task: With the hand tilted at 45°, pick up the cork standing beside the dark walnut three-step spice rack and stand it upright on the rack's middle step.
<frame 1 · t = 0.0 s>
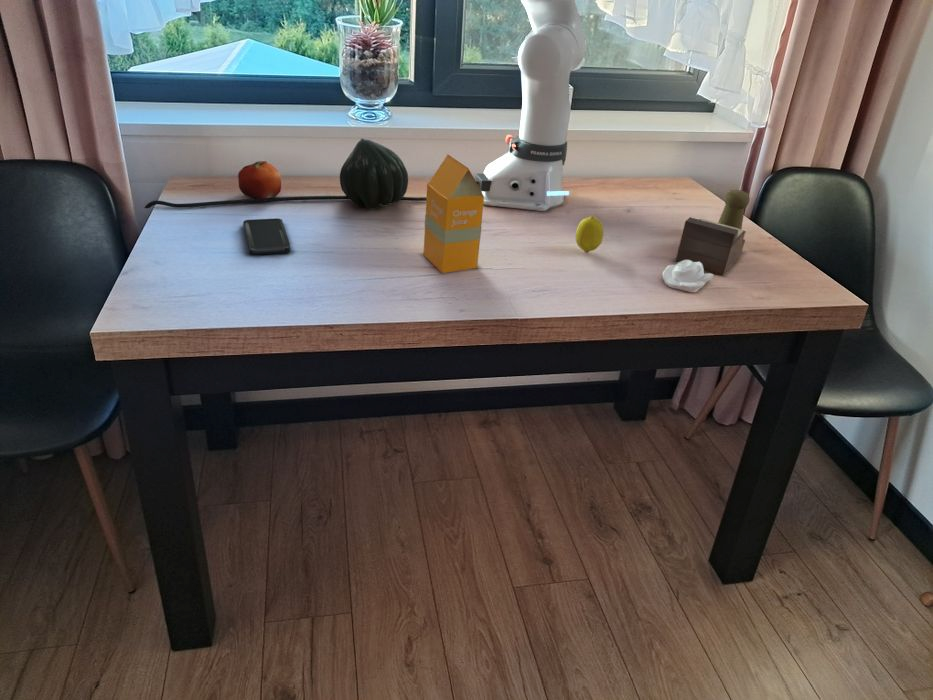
tomato: (261, 198, 166), on the table
orange juice: (450, 262, 145), on the table
spice rack: (709, 257, 157), on the table
phone: (266, 239, 147), on the table
cork: (725, 239, 167), on the table
rose: (686, 283, 145), on the table
squash: (373, 204, 169), on the table
lemon: (586, 253, 154), on the table
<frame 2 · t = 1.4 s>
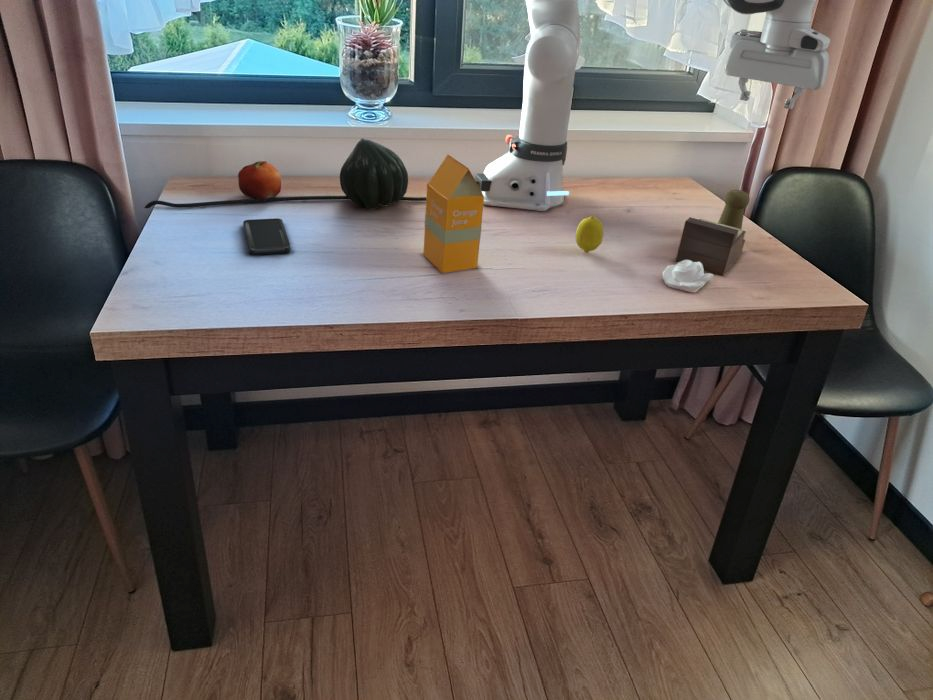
hand: (765, 104, 159), 28 cm above the table, tool pointing down, fingers open, 8 cm apart
nothing on the table moved.
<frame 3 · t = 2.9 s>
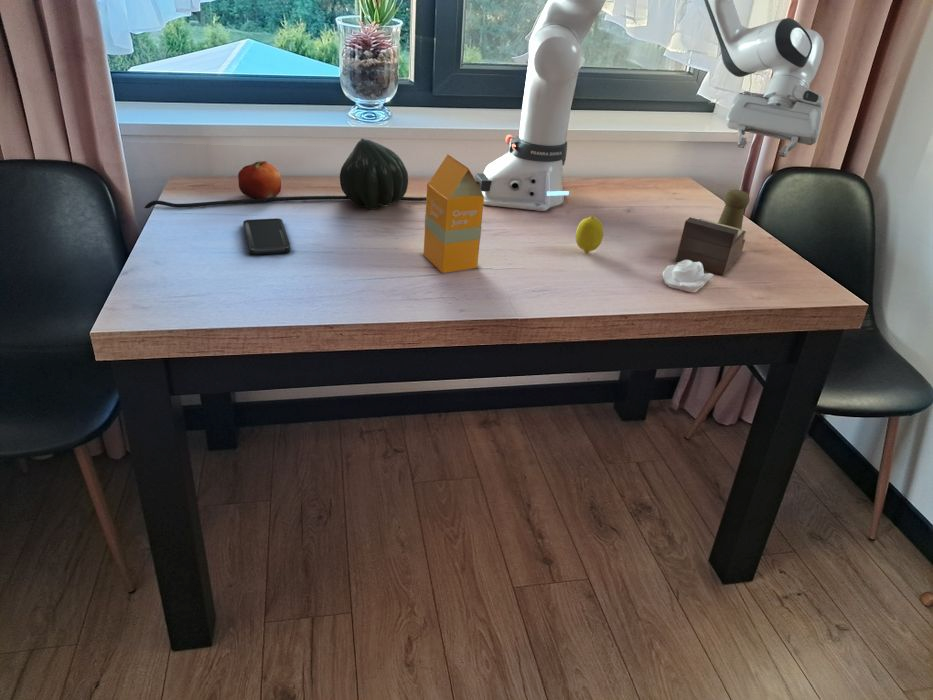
hand: (761, 150, 167), 17 cm above the table, tool tilted 45°, fingers open, 8 cm apart
nothing on the table moved.
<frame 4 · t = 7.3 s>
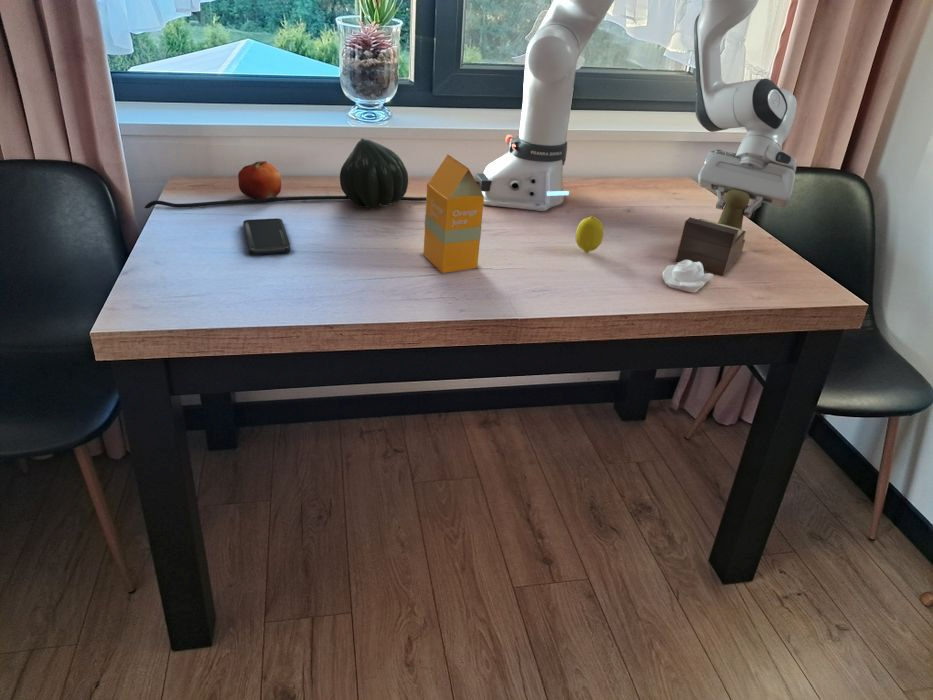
hand: (733, 211, 163), 7 cm above the table, tool tilted 45°, fingers closed on cork, 5 cm apart
cork: (725, 239, 167), on the table, touching gripper
everything else where it was.
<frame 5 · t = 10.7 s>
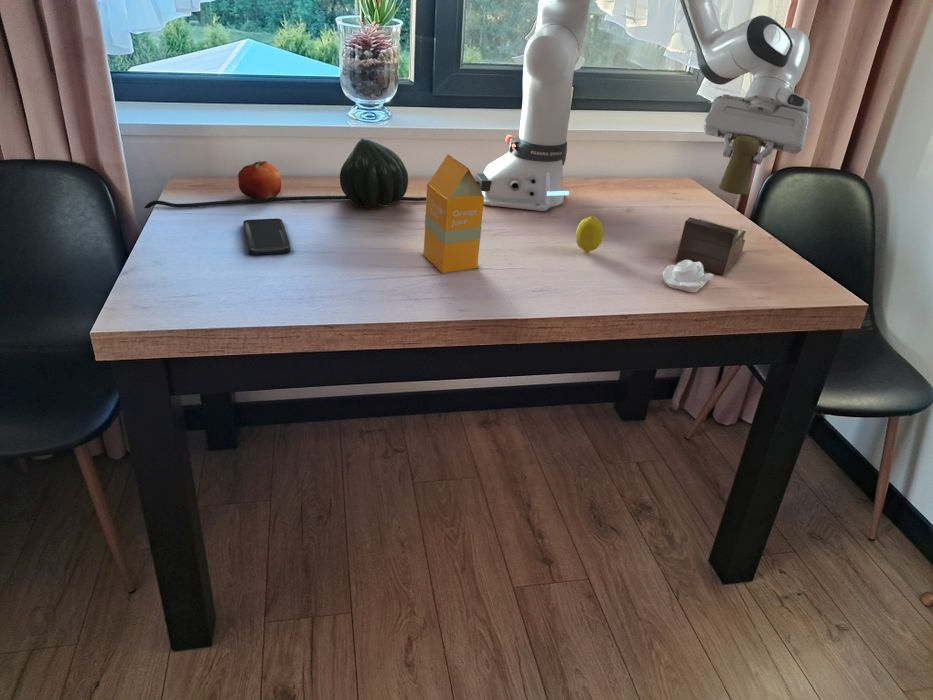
hand: (741, 159, 152), 20 cm above the table, tool tilted 45°, fingers closed on cork, 5 cm apart
cork: (733, 190, 156), point 13 cm above the table, touching gripper
everything else where it was.
when the fingers open (13 cm above the table, at t = 14.3 s): cork stays where it is, resting on spice rack.
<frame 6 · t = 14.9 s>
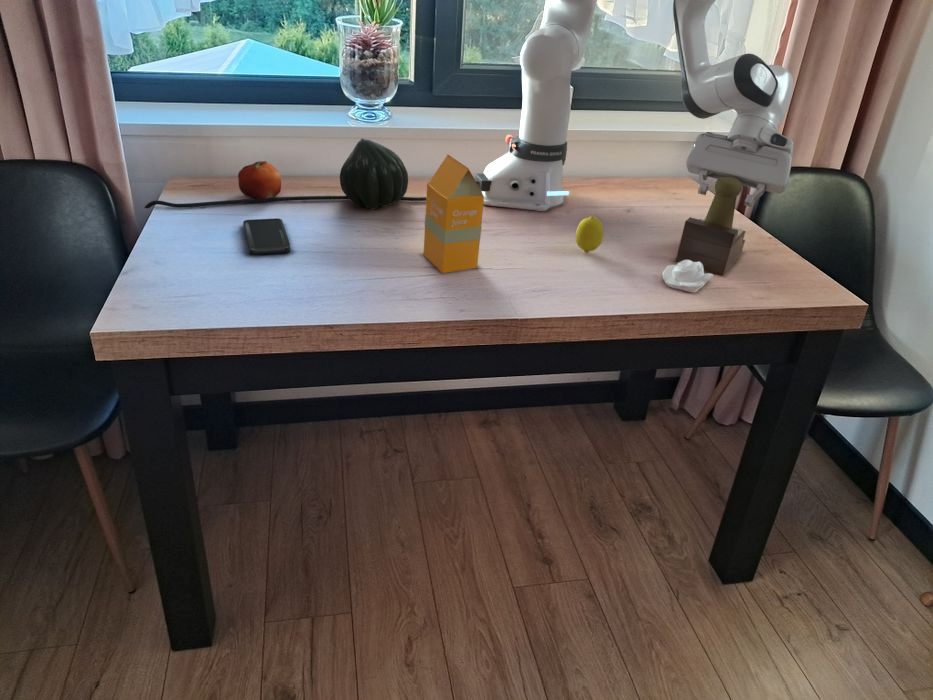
hand: (724, 198, 150), 13 cm above the table, tool tilted 45°, fingers open, 8 cm apart
cork: (716, 230, 154), point 6 cm above the table, touching spice rack
everything else where it was.
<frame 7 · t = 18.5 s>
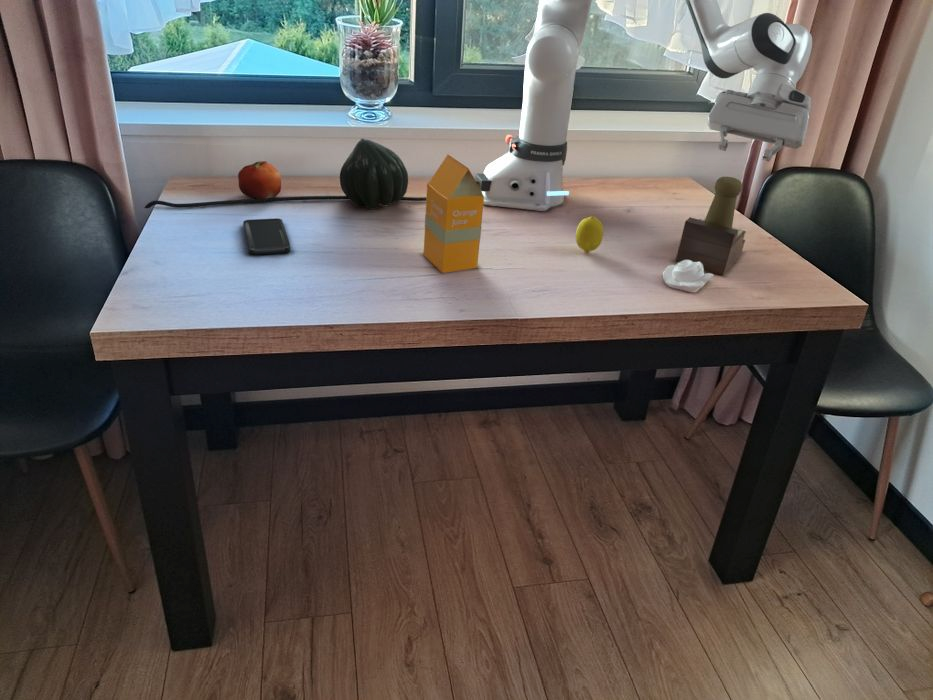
hand: (743, 154, 157), 19 cm above the table, tool tilted 45°, fingers open, 8 cm apart
nothing on the table moved.
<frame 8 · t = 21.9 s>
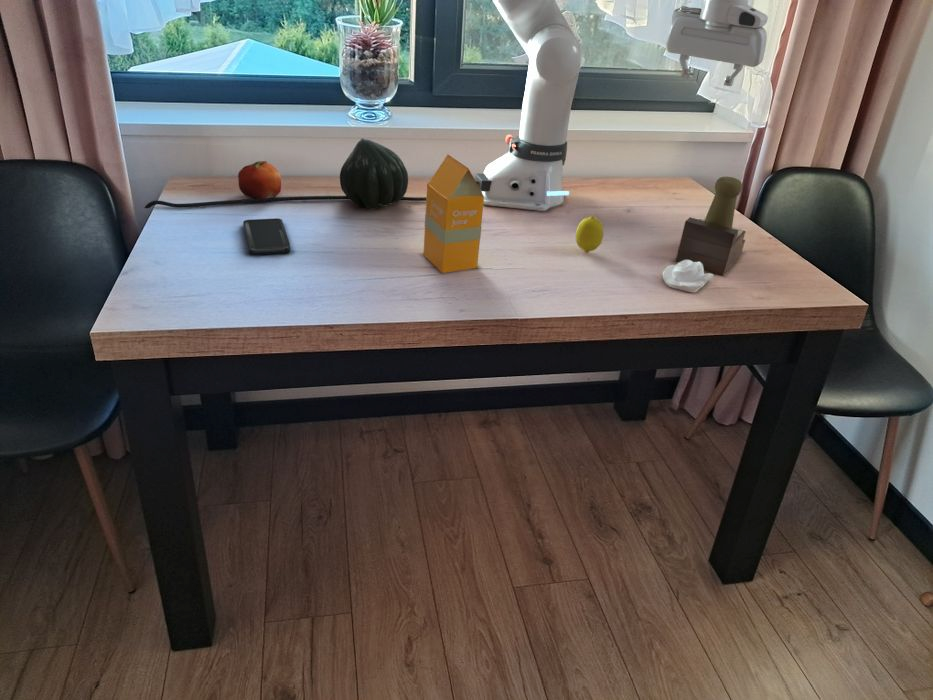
hand: (706, 81, 160), 31 cm above the table, tool pointing down, fingers open, 8 cm apart
nothing on the table moved.
at the end: cork 0.1 cm off-centre on the spice rack, point 6.0 cm above the spice rack's base; cork tilted 0°; the gripper is holding nothing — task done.
